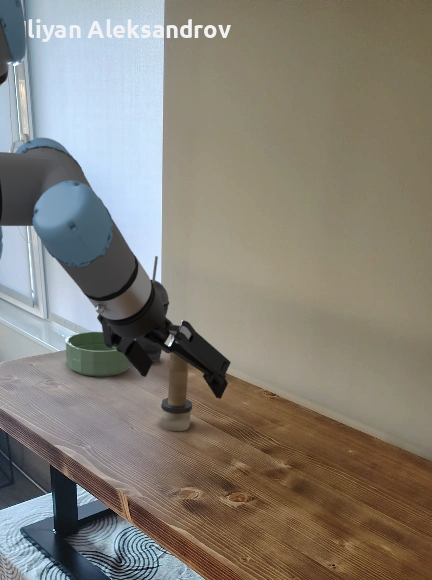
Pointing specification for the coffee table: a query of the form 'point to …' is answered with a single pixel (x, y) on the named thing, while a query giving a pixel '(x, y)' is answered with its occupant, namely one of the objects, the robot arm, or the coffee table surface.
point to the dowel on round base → (176, 397)
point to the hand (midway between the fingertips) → (183, 379)
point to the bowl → (94, 355)
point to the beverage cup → (153, 350)
